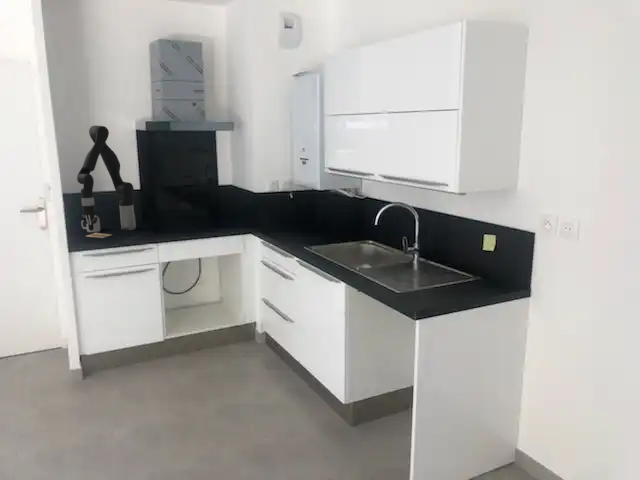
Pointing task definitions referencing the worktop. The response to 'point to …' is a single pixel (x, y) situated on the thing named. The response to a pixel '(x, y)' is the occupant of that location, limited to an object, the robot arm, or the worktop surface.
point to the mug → (96, 225)
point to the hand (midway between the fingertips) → (91, 230)
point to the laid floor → (104, 235)
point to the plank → (94, 235)
